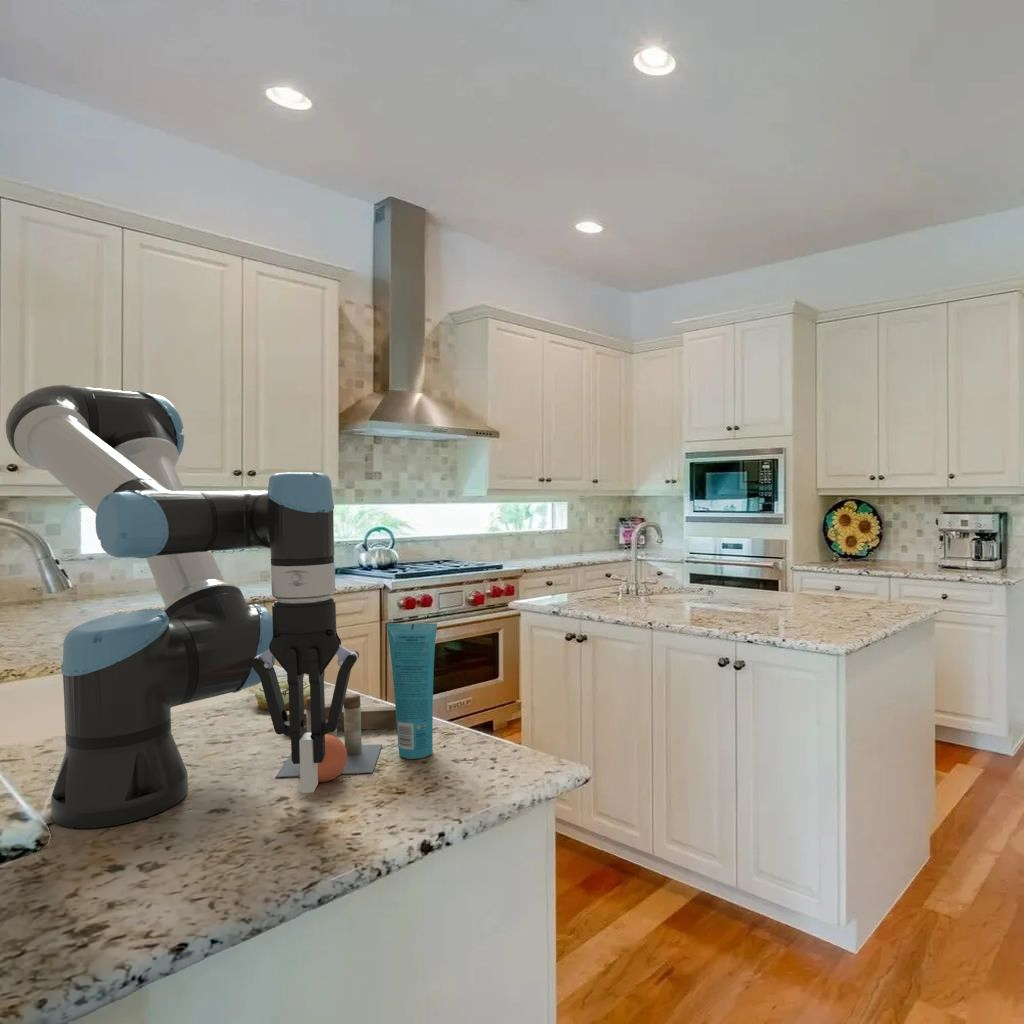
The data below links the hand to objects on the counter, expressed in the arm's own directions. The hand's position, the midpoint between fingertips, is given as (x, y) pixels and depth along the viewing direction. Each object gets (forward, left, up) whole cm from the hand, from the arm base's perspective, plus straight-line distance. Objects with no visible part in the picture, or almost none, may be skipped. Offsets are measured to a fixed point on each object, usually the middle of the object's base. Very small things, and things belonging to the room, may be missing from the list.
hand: (309, 788), depth 89 cm
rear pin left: (+3, +17, -2) cm, 17 cm away
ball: (0, +7, +1) cm, 7 cm away
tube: (+12, +16, -2) cm, 20 cm away
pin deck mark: (0, +14, -2) cm, 14 cm away
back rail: (0, +29, -2) cm, 29 cm away
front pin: (0, +12, -2) cm, 12 cm away
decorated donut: (-14, +45, -2) cm, 47 cm away
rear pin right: (-3, +17, -2) cm, 17 cm away
